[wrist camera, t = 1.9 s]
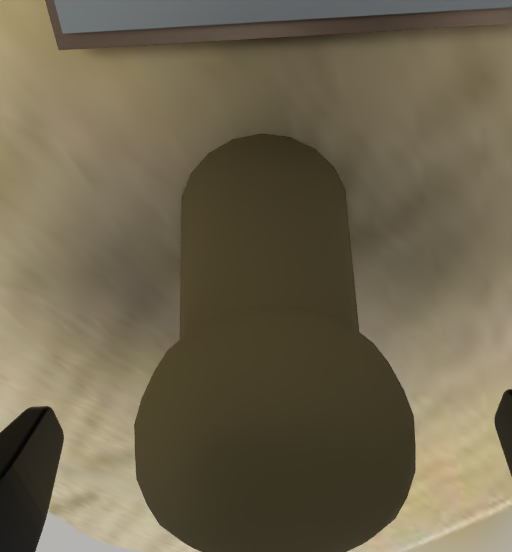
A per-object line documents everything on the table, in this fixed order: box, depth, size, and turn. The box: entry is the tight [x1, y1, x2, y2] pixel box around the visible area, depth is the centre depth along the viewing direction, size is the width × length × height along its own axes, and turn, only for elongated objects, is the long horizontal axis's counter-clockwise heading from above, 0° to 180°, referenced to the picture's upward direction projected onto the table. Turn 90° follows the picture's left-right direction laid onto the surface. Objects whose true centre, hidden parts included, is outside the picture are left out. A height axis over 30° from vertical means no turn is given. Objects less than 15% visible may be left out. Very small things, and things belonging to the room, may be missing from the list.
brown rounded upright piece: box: [134, 134, 415, 552], centre depth 12 cm, size 6×6×11 cm
